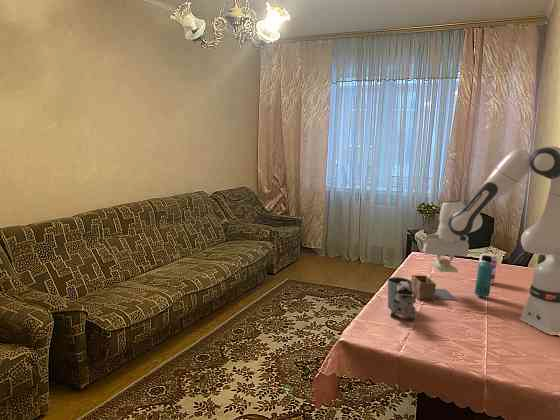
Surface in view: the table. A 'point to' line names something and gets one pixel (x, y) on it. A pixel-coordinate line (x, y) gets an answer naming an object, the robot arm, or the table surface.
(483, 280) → the beverage bottle
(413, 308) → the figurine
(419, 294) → the box
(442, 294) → the mat
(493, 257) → the supplement can
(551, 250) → the robot arm
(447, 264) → the lid
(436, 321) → the table surface
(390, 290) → the gray embossed pot
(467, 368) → the table surface
